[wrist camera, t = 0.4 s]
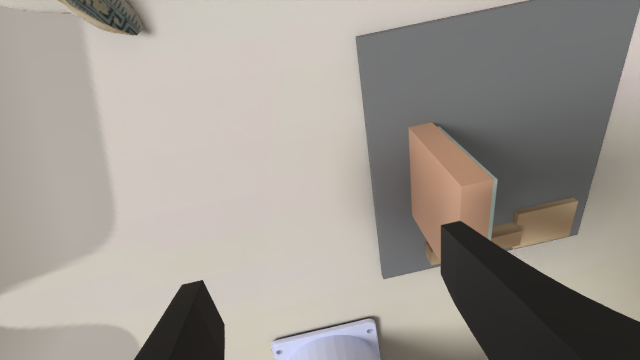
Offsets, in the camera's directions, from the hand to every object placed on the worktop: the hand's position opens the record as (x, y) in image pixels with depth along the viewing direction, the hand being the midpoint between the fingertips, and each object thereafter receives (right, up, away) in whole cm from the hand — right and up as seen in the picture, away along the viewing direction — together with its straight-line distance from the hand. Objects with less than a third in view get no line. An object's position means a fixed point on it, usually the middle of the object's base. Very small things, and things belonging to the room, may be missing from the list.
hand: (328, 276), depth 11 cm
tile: (+6, +3, +10) cm, 12 cm away
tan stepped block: (+12, -1, +13) cm, 18 cm away
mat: (+10, +4, +10) cm, 15 cm away
